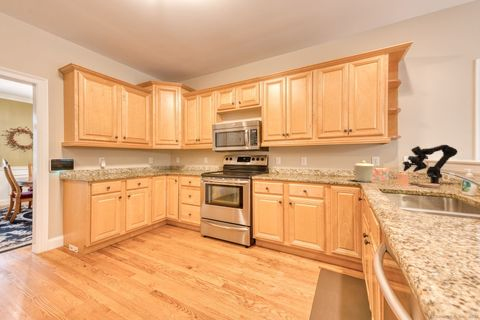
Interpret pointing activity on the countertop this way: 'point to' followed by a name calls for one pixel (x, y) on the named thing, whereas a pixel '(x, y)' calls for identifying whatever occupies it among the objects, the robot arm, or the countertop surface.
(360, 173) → the canister
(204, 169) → the countertop surface
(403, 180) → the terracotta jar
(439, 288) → the countertop surface
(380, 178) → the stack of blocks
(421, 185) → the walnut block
